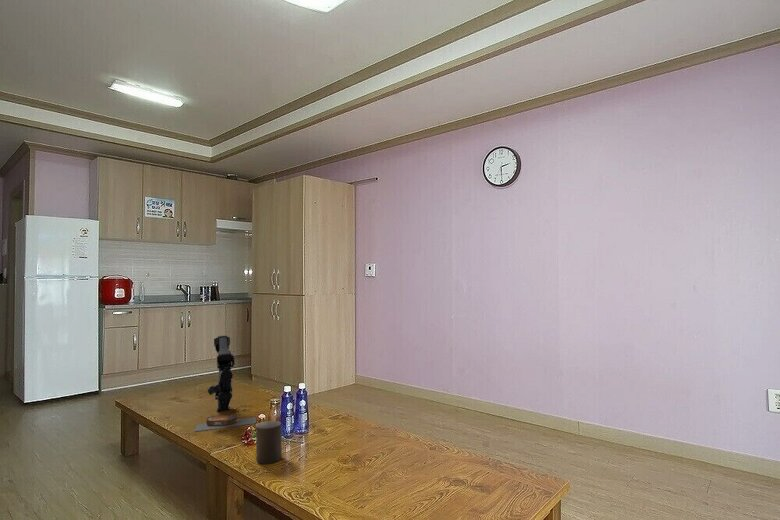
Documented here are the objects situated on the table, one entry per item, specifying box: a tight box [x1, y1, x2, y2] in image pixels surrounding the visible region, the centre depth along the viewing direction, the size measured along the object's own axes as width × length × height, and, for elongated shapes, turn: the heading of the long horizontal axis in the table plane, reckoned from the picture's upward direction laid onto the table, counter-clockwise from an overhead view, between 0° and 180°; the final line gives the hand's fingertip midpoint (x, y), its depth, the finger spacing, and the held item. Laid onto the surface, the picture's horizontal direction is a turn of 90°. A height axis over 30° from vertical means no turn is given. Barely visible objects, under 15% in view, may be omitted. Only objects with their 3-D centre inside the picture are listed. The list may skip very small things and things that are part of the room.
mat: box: [194, 416, 257, 432], centre depth 223 cm, size 10×28×1 cm, turn 109°
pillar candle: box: [255, 420, 283, 465], centre depth 178 cm, size 10×10×15 cm
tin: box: [206, 414, 238, 425], centre depth 225 cm, size 15×3×8 cm
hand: (226, 409), depth 227 cm, fingers closed
